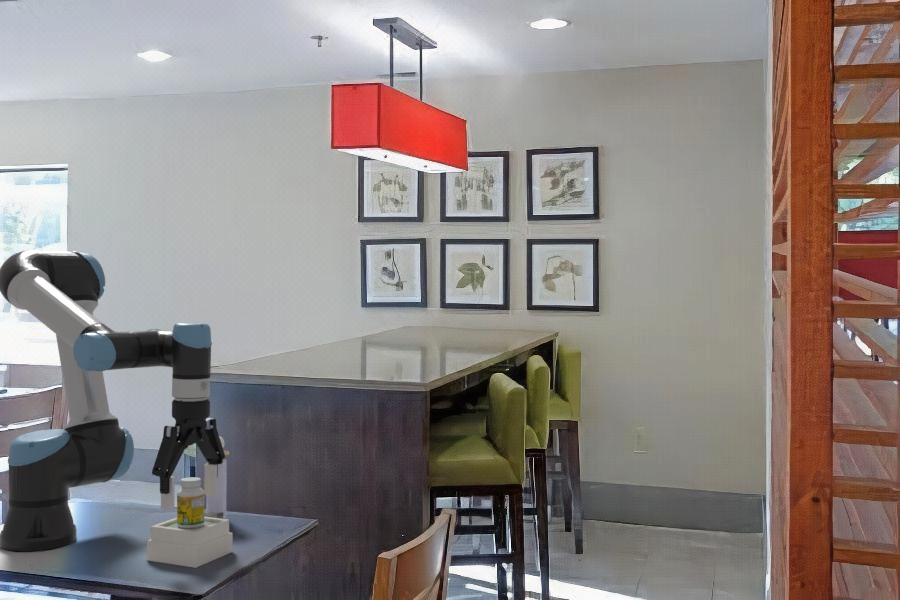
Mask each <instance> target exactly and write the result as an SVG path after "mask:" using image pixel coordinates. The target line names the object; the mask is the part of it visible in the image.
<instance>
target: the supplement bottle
mask: <svg viewBox="0 0 900 600" xmlns="http://www.w3.org/2000/svg"><path fill="white" fill-rule="evenodd" d="M201 482H202V479H201V478H200V477H196V476H195V477H194V476H192V477H191V476H190V477H188V476H187V477H184V478H181V479H180V483H179V485H180V487H181V488H180V489H179V490H178V491H177V493H176V511H177V512H176V518H177V526H178V527H179V528H184V529H192V528H199V527H201V526H203V525H204V514H205V495H204V488H202V487H201V486H202V483H201Z"/></svg>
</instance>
